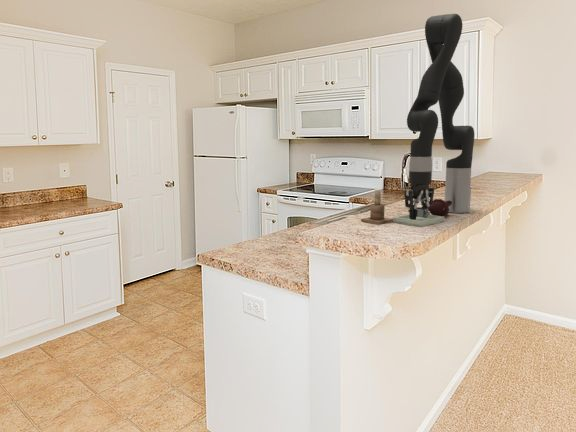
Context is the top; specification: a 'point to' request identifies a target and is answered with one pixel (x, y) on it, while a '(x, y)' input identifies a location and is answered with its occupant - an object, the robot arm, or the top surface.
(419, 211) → the ring
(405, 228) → the top surface
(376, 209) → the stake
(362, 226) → the top surface
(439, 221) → the tray
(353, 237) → the top surface
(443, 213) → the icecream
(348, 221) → the top surface
